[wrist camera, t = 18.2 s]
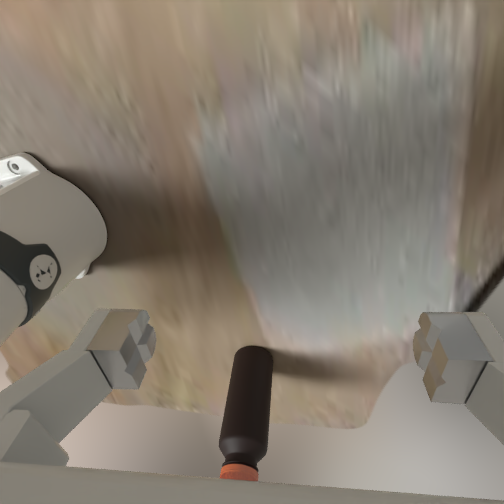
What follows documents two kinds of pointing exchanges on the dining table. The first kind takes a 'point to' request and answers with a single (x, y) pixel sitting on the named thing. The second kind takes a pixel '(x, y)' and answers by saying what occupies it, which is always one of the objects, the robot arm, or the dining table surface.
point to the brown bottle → (246, 414)
